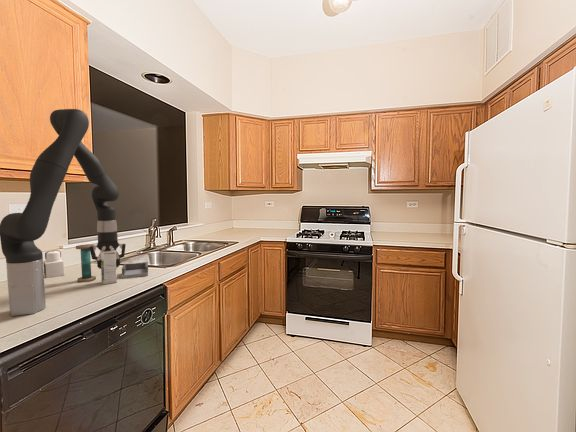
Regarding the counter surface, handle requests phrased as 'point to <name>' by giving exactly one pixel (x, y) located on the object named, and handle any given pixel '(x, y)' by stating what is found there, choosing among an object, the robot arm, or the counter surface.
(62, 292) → the counter surface
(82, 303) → the counter surface
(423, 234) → the counter surface
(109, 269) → the syrup box
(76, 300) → the counter surface
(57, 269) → the medicine bottle
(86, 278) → the bobbin post
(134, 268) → the gray square tray
